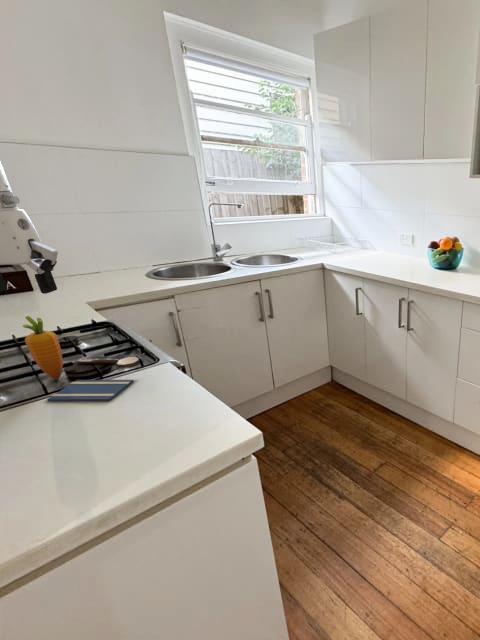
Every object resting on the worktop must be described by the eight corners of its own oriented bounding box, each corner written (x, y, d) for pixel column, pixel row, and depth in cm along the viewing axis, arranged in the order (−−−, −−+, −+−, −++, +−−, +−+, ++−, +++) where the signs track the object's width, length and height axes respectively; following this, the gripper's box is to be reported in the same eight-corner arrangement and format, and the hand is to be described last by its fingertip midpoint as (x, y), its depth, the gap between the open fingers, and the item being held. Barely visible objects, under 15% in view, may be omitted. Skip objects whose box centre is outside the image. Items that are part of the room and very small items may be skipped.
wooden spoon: (72, 367, 90) (70, 363, 90) (85, 359, 94) (84, 355, 94) (132, 367, 91) (131, 363, 91) (143, 359, 95) (142, 355, 95)
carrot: (73, 379, 85) (49, 317, 79) (43, 387, 82) (16, 322, 76) (70, 372, 88) (47, 311, 82) (41, 379, 85) (15, 316, 79)
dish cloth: (47, 401, 77) (46, 398, 77) (77, 381, 84) (76, 379, 84) (109, 401, 78) (108, 398, 78) (133, 381, 85) (133, 379, 85)
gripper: (53, 201, 74) (83, 286, 81) (-42, 200, 73) (-3, 286, 80) (19, 204, 67) (54, 297, 74) (-86, 203, 66) (-40, 297, 73)
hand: (24, 291), depth 77 cm, fingers open, 9 cm apart
